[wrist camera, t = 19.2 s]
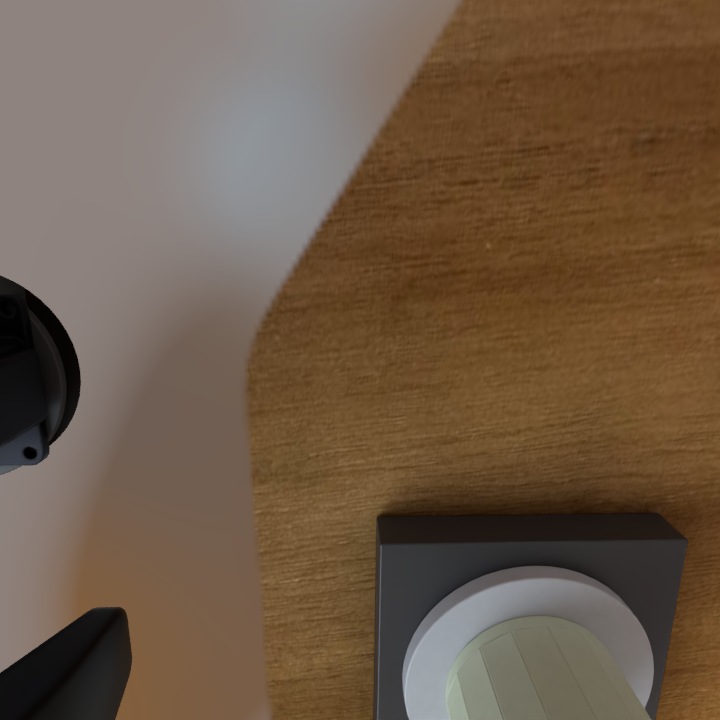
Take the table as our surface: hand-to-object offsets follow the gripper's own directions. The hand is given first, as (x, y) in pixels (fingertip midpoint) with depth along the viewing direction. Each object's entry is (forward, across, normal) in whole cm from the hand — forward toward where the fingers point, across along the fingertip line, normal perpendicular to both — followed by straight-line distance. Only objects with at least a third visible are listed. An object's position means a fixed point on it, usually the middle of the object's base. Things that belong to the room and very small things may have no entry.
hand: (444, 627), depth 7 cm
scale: (+13, -6, +12) cm, 19 cm away
